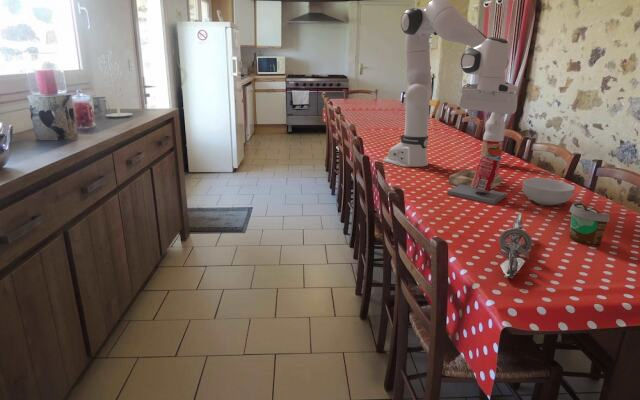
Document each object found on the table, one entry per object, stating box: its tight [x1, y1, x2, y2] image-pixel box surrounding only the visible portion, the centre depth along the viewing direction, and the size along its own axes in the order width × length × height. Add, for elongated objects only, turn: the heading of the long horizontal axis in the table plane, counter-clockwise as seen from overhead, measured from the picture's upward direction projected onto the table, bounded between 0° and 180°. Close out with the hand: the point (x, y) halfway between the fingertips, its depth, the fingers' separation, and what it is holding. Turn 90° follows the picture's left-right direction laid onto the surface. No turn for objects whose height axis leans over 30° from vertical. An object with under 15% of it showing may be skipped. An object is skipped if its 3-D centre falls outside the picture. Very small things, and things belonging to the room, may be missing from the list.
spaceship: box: [498, 212, 533, 280], centre depth 114 cm, size 8×35×8 cm
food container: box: [569, 200, 611, 247], centre depth 124 cm, size 12×6×10 cm, turn 5°
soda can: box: [471, 156, 501, 193], centre depth 161 cm, size 7×7×13 cm
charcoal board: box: [447, 184, 507, 205], centre depth 165 cm, size 18×12×2 cm, turn 49°
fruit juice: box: [480, 112, 506, 164], centre depth 211 cm, size 9×9×28 cm
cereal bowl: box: [522, 177, 575, 206], centre depth 157 cm, size 17×17×7 cm
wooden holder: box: [448, 168, 503, 190], centre depth 180 cm, size 16×16×4 cm
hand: (484, 123), depth 160 cm, fingers open, 8 cm apart
